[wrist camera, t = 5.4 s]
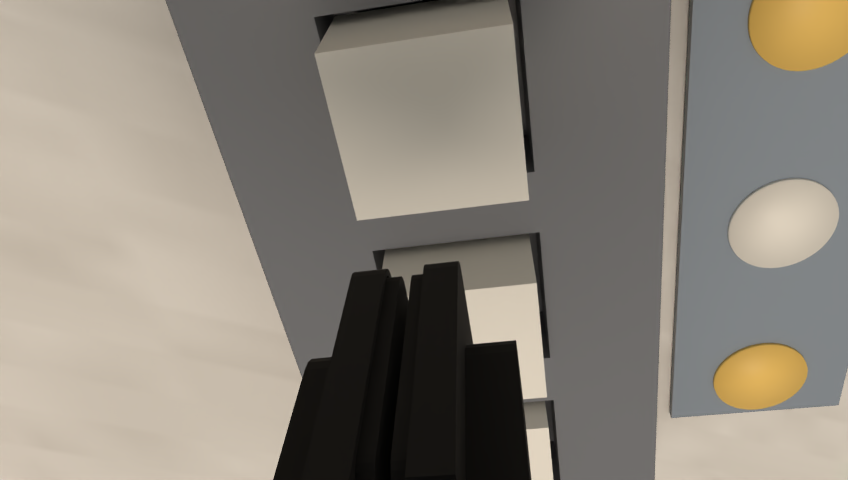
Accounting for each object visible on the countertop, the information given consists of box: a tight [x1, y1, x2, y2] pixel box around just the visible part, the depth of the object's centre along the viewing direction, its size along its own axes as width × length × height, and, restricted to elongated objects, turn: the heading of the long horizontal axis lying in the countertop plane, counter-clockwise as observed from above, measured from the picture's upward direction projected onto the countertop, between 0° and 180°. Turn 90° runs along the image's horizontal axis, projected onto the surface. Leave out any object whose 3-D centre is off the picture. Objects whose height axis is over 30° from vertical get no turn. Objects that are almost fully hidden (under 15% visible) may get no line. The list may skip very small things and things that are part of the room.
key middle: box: [382, 234, 547, 399], centre depth 21 cm, size 4×4×3 cm
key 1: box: [524, 401, 553, 480], centre depth 26 cm, size 4×4×3 cm
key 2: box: [315, 0, 529, 221], centre depth 17 cm, size 4×4×3 cm
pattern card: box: [670, 0, 848, 418], centre depth 22 cm, size 18×6×1 cm, turn 9°
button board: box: [166, 0, 671, 480], centre depth 23 cm, size 23×12×3 cm, turn 9°
